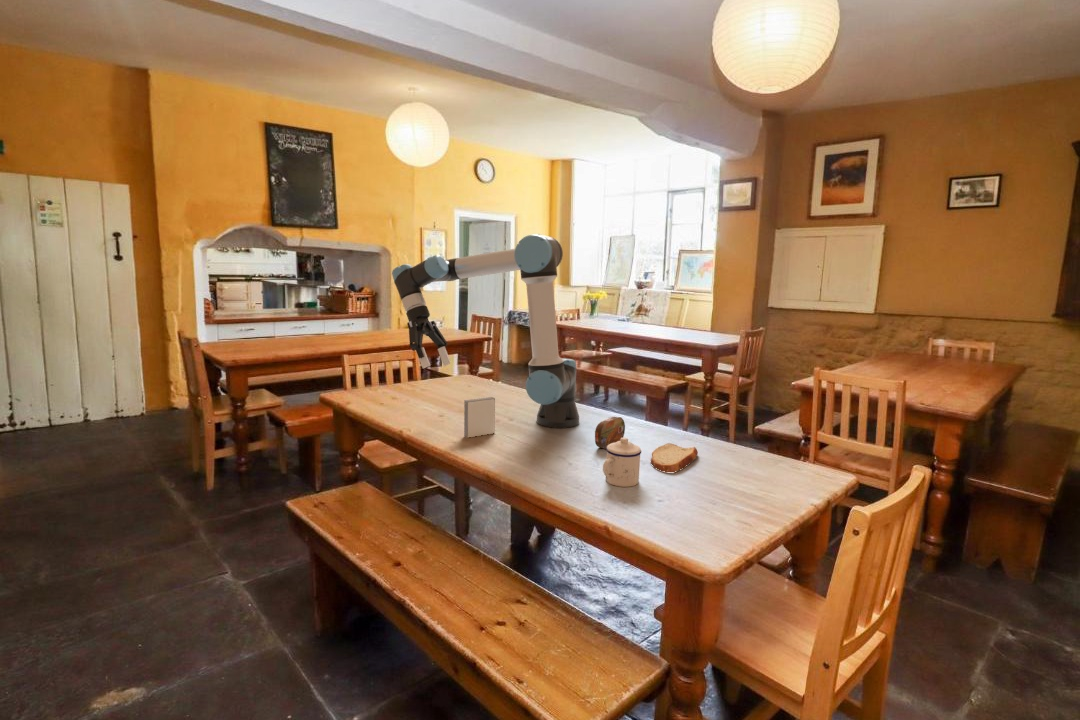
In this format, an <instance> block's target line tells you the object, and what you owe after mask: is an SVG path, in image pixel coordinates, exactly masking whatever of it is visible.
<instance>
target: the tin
mask: <svg viewBox="0 0 1080 720" xmlns="http://www.w3.org/2000/svg"><path fill="white" fill-rule="evenodd" d="M625 432H626V424H625V420H624V418H623V417H620V416H612V417H609V418H607V419H604V420H602V421H600V422H599V423H598V424H597V426H596V427H595V430H594V442H595V445H596V447H598V448H600V449H604V450H606V448H607V446H608V445H609V444H611V443H615V442H618V441H620V439H621V438H624V435H625Z"/></svg>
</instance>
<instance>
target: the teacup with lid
mask: <svg viewBox="0 0 1080 720" xmlns="http://www.w3.org/2000/svg"><path fill="white" fill-rule="evenodd" d="M605 451H606V460H604V462H603V463H602V464H603V466H602V472H603V474H604V476H605V481H606V482H607V483H608V484H610V485H612V486H616V487H623V488H628V487H634V486H636V485H638V484H639V483H640V482H639V481H640V466H641V465H640V464H641V455H642V449H641V447H640V446H639V445H637V444H635V443H632V442H631V441H629V439H628V437H623V438H621V439H620V441H618V442H615V443H611V444H609V445H608V446H607V448H606V449H605Z"/></svg>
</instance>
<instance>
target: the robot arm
mask: <svg viewBox="0 0 1080 720" xmlns="http://www.w3.org/2000/svg"><path fill="white" fill-rule="evenodd" d="M563 254H564V251H563V247H562V246H561V243H560V242H559V241H558V240H557V239H556V238H554V237H552V236H549V235H543V234H540V233H532V234H528V235H526V236H523V237H522V238H521V239H520V240H519V241H518V242H517V243H516V247H515V248H510V249H509V248H508V249H503V250H497V251H491V252H487V253H480V254H474V255H467V256H462V257H455V258H450V259H449V258H448V259H445V258H444V257H442V256H441V255H439V254H435V255H433V256H429V257H428V258H427V259H425V260H423V261H421V262H420V263H418V264H415V265H413V266H412V265H411V264H407V263H405V264H401V265H398V266H396V267H395V268H393V270H392V271H391V275H392V279H393V283H394V285H395V287H396V289H397V292H398V295H399V297H400V300H401V303H402V307H403V309H404V311H405V313H406V317H407V320H408V322H407V323H406V324H407V328H408V334H409V335H408V339H409V348H410V349H411V350H412V352H413V351H416V355H417V358H418V360H419V362H420V364H421V368H422V369H426V368H427V367H430V366H431V363H430V360H429V357H428V354H427V353H426V350H425V347H424V346H423V339H424V335H425V336H427V337H428V338H429V339H430V340H431V341H432V342H433V344H434V345H436V347H437V352H438V354H439V357H440V360H441V363H442V364H443V367H447V366H448V365H450V364H451V363H452V362H451V360H450V357H449V354H448V351H447V348H446V346H448V341H447V340H446V338H445V337H444V336H443V333H442V332H441V331H440V330H439V328H438V327H437V324H436V322H435V320H432V321H430V320H429V317H430V316H431V313H430V310H429V308H428V306H427V303H426V300H425V297H424V294H423V292H422V290H421V289H422V288H424V287H426V286H427V285H429V284H431V283H434V282H453V281H456V280H462V279H468V278H475V277H482V276H489V275H495V274H503V273H509V272H510V273H511V272H516V271H520V280H522V281H523V282H524V283H525V284H526V285H525V286H526V295H527V307H528V308H527V309H528V318H529V319H528V320H529V331H530V334H529V335H530V344H531V345H530V346H531V355H532V358H531V359H530V360H529V362H528V364H527V365H528V373H529V374H528V375H529V376H528V377H527V378H526V381H525V390H526V393H527V395H528V397H529V398H530V399H531V400H532V401H534V403H536V404H539V408H538V411H537V414H536V422H537V424H539V425H541V426H542V427H543V426H544V427H547V428H555V429H556V428H557V429H558V428H560V429H565V428H572V427H576V426H578V425H579V423H580V414H579V411H578V407H577V403H576V387H577V386H576V385H577V384H576V382H577V380H576V379H577V370H578V369H577V361H576V360H574V359H573V358H572V359H571V358H562V357H560V356H559V353H560V352H559V344H558V343H559V341H558V331H557V328H558V327H557V318H556V316H557V315H556V304H555V293H554V292H555V291H554V282H555V280H556V278H557V277H558V270H557V269H558V268H557V267H558V266H559V265H560V264H561V262H562V260H563V257H564V255H563ZM422 346H423V347H422Z"/></svg>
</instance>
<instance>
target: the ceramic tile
mask: <svg viewBox="0 0 1080 720" xmlns="http://www.w3.org/2000/svg"><path fill="white" fill-rule="evenodd" d="M463 407H464V408H463V409H464V410H463V411H464V415H463V417H464V421H463V424H464V436H465V438H466V439H469V437H471V438H476V437H475V436H477V437H482V436H481V435H483V436H488V435H487V434H489V435H493V433H496V432H495V431H496V430H495V428H496V426H495V425H496V424H495V423H496V421H495V420H496V418H495V417H496V398H495V397H493V396H488V397H481V398H480V397H478V398H472V399H464V406H463Z"/></svg>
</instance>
